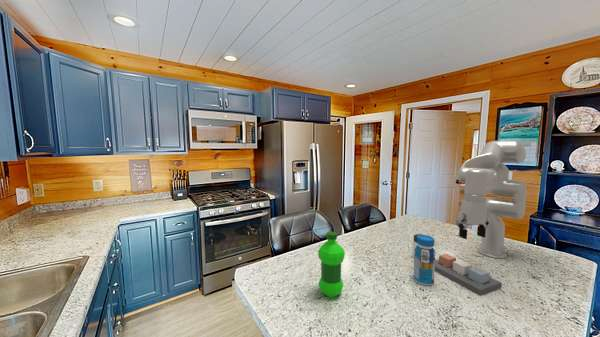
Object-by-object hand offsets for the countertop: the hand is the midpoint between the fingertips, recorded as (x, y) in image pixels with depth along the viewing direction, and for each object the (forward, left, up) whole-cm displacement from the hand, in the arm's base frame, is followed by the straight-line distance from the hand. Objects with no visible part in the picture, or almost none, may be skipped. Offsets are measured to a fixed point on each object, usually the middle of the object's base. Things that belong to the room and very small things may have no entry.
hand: (471, 237), depth 100 cm
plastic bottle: (+61, -15, -21) cm, 66 cm away
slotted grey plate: (-1, -4, -21) cm, 21 cm away
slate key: (-1, +3, -18) cm, 18 cm away
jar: (+1, -24, -21) cm, 32 cm away
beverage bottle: (+18, -8, -21) cm, 29 cm away
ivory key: (-1, -4, -18) cm, 19 cm away
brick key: (-1, -11, -18) cm, 21 cm away
